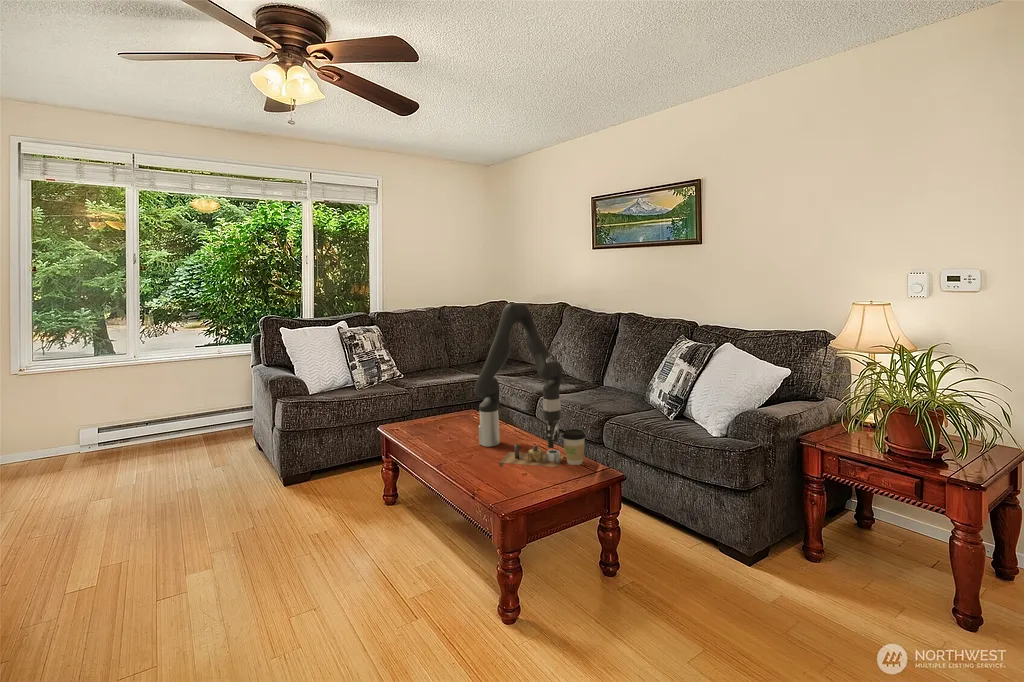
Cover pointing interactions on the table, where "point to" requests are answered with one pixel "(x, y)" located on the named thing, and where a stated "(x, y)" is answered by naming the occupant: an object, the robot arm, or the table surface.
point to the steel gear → (553, 456)
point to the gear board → (528, 458)
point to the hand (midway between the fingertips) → (553, 444)
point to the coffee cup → (574, 446)
